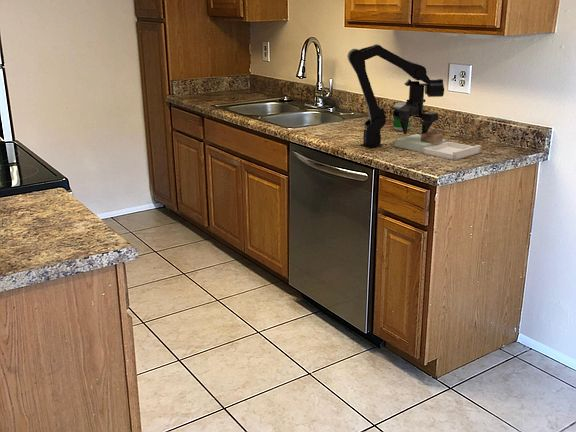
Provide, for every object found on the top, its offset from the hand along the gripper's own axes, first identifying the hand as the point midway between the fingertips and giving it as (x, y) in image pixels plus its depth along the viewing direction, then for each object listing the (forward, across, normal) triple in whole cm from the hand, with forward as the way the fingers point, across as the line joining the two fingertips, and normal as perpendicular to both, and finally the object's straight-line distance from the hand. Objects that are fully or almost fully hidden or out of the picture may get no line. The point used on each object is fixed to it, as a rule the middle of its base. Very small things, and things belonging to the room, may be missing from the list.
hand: (413, 135), depth 247 cm
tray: (+4, +18, 0) cm, 19 cm away
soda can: (+4, -23, +21) cm, 31 cm away
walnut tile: (+1, +9, 0) cm, 9 cm away
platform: (+4, +3, 0) cm, 5 cm away
